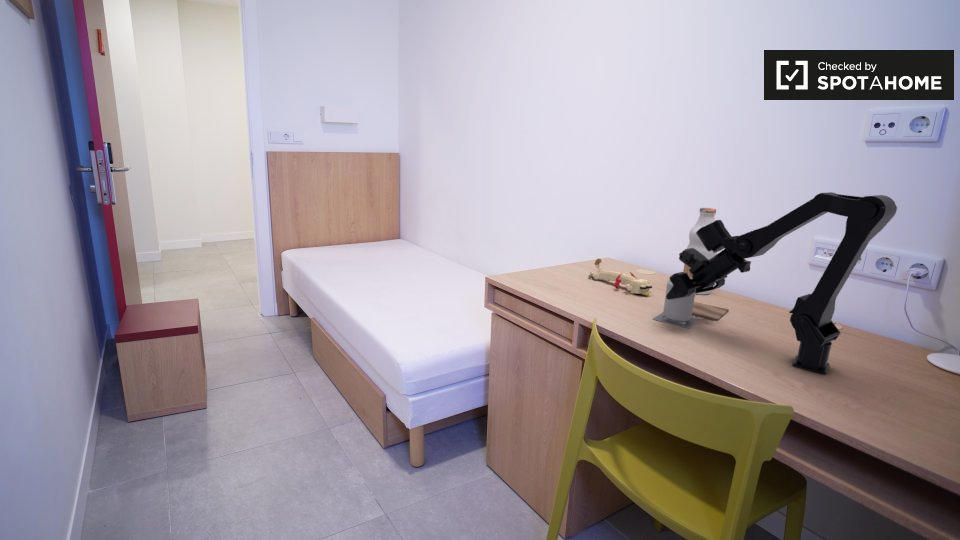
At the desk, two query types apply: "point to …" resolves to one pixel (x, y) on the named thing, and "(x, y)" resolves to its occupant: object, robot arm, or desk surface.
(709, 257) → the fruit juice
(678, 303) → the can
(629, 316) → the desk surface
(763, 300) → the desk surface
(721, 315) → the board
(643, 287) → the cream voxel animal
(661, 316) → the tile
